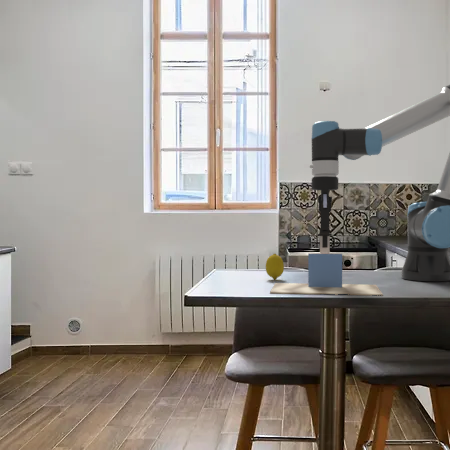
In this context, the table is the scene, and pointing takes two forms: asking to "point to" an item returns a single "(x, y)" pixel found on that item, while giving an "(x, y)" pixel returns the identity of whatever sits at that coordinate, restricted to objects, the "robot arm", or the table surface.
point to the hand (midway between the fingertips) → (324, 258)
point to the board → (325, 289)
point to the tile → (324, 270)
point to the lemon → (274, 266)
